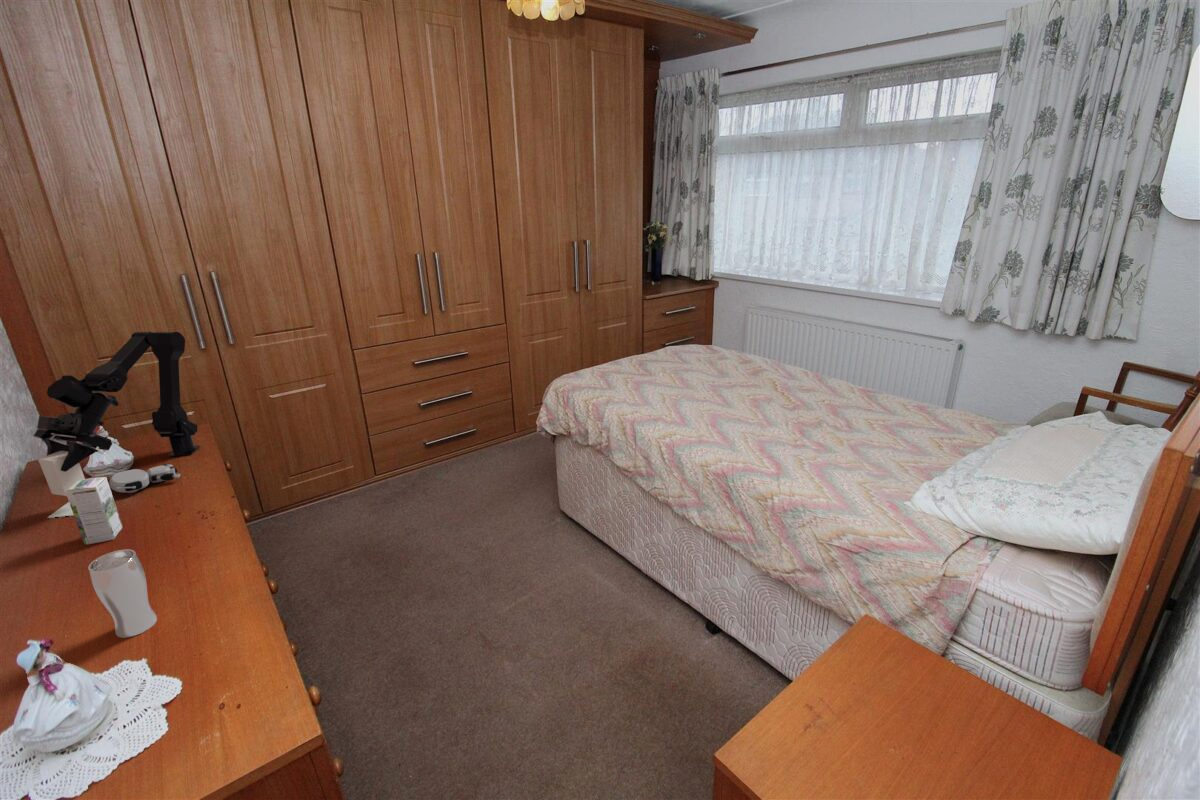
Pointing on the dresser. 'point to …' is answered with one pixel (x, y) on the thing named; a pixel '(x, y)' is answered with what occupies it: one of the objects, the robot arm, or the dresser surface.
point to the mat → (63, 511)
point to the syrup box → (94, 510)
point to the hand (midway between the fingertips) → (55, 470)
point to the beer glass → (123, 591)
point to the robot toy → (141, 478)
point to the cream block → (59, 473)
